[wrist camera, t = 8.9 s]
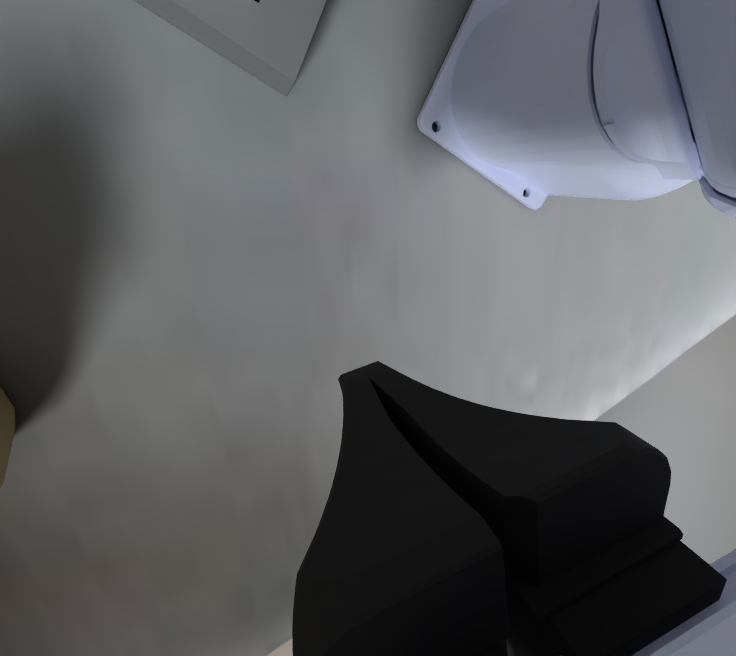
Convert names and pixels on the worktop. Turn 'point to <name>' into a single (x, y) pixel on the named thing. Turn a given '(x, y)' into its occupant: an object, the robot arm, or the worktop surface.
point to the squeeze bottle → (5, 432)
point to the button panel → (249, 32)
